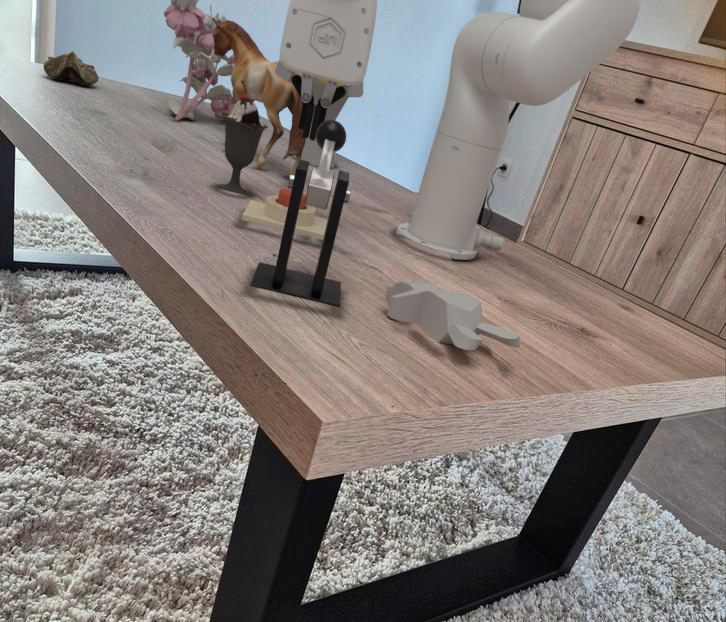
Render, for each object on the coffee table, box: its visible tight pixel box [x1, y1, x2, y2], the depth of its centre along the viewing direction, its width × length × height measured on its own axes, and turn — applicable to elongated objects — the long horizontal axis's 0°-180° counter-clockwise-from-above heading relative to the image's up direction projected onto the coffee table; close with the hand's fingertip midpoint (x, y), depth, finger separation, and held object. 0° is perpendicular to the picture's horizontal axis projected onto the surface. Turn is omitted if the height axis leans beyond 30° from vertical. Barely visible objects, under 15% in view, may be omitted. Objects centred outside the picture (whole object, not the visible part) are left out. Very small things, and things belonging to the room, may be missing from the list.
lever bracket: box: [250, 160, 352, 308], centre depth 68 cm, size 7×9×13 cm
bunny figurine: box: [384, 281, 521, 351], centre depth 68 cm, size 10×5×15 cm
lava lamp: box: [291, 77, 350, 169], centre depth 128 cm, size 9×9×35 cm
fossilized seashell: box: [43, 50, 100, 87], centre depth 141 cm, size 8×7×10 cm
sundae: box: [215, 80, 270, 197], centre depth 96 cm, size 7×7×15 cm
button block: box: [241, 194, 328, 241], centre depth 89 cm, size 11×8×4 cm
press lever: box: [304, 120, 347, 211], centre depth 68 cm, size 12×3×3 cm, turn 0°
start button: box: [277, 188, 306, 210], centre depth 88 cm, size 4×4×2 cm
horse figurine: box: [210, 17, 305, 178], centre depth 116 cm, size 31×8×21 cm, turn 39°
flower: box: [163, 0, 237, 122], centre depth 139 cm, size 20×22×25 cm
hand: (308, 137), depth 84 cm, fingers closed
